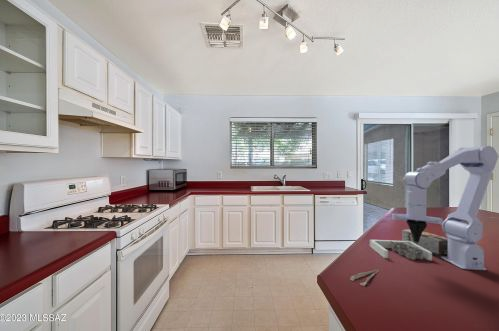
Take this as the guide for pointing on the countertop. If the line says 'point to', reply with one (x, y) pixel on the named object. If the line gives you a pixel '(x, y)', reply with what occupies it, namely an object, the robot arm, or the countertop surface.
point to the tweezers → (362, 276)
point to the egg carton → (411, 250)
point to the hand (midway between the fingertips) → (415, 241)
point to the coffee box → (429, 242)
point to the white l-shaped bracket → (382, 244)
